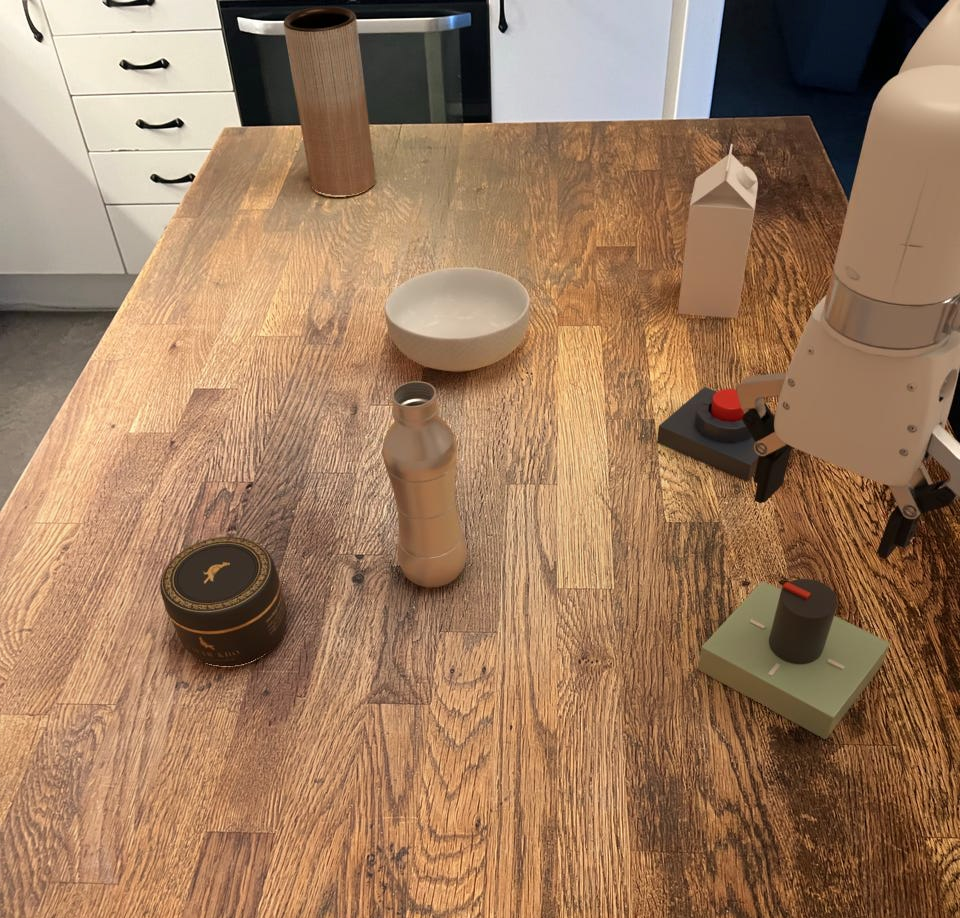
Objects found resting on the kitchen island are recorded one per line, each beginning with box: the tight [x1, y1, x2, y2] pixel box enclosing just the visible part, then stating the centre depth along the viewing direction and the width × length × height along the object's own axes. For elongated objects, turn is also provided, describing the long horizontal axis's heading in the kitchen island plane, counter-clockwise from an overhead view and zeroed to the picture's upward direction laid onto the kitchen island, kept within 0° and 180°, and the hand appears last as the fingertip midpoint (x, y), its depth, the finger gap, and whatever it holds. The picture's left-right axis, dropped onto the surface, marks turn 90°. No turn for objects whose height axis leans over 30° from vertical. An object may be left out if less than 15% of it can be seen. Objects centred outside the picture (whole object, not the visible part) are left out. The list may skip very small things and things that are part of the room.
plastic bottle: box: [381, 380, 468, 588], centre depth 87 cm, size 6×7×20 cm
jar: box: [159, 536, 287, 666], centre depth 88 cm, size 10×10×8 cm
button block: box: [656, 386, 775, 483], centre depth 105 cm, size 11×9×4 cm
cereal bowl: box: [384, 266, 531, 373], centre depth 117 cm, size 17×17×7 cm
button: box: [711, 388, 744, 422], centre depth 103 cm, size 4×4×2 cm
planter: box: [283, 6, 377, 195], centre depth 145 cm, size 10×10×23 cm
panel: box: [697, 580, 891, 740], centre depth 84 cm, size 12×10×3 cm
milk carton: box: [677, 143, 759, 319], centre depth 116 cm, size 7×7×19 cm
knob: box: [769, 578, 839, 664], centre depth 80 cm, size 4×4×6 cm
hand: (827, 519), depth 72 cm, fingers open, 9 cm apart
